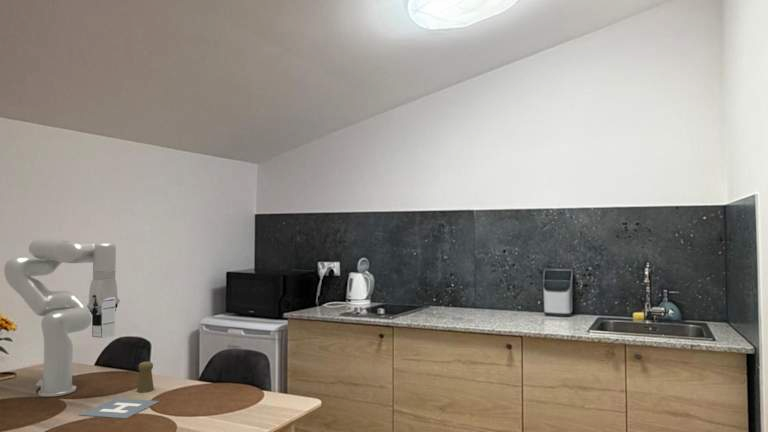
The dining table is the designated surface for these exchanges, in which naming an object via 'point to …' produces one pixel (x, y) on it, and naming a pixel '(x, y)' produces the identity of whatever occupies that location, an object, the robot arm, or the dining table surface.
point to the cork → (145, 377)
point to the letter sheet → (119, 408)
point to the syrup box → (106, 319)
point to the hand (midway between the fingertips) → (103, 323)
